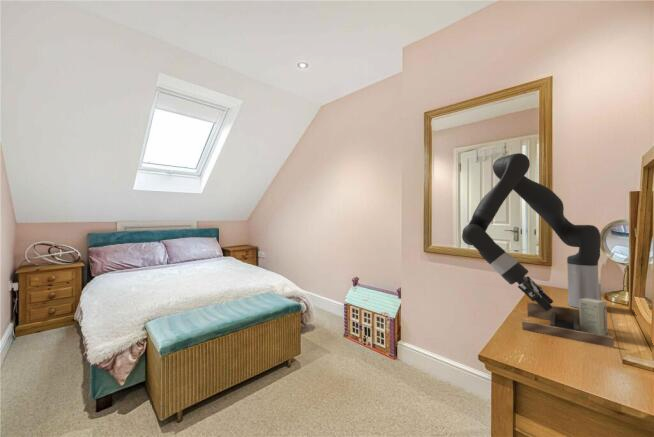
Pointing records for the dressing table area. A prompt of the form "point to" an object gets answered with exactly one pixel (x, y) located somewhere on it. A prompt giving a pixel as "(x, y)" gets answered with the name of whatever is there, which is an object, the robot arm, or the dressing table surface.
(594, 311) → the skincare box
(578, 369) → the dressing table surface
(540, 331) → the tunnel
